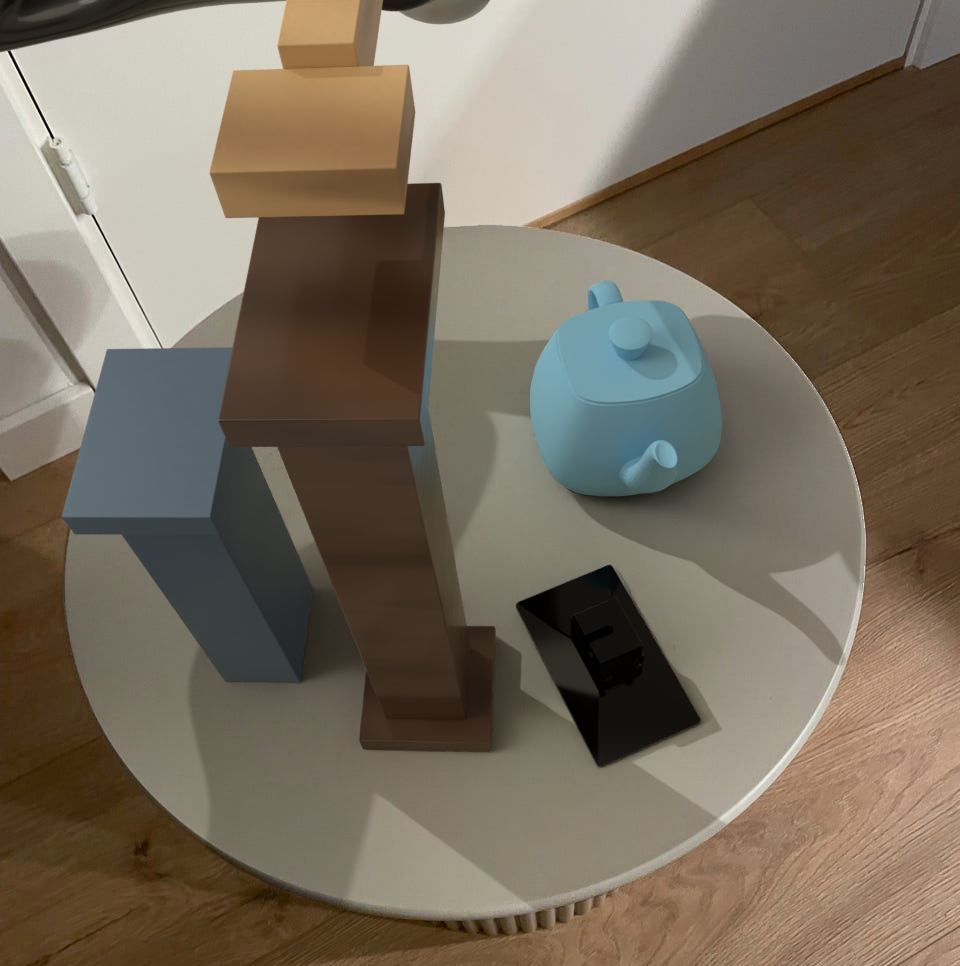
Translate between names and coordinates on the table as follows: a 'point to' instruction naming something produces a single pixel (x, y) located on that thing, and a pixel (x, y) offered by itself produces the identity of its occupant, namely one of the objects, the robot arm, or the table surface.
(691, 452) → the teapot
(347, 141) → the mallet
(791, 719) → the table surface
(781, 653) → the table surface
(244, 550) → the blue-grey tall block
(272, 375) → the dark wood pedestal
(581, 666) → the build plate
